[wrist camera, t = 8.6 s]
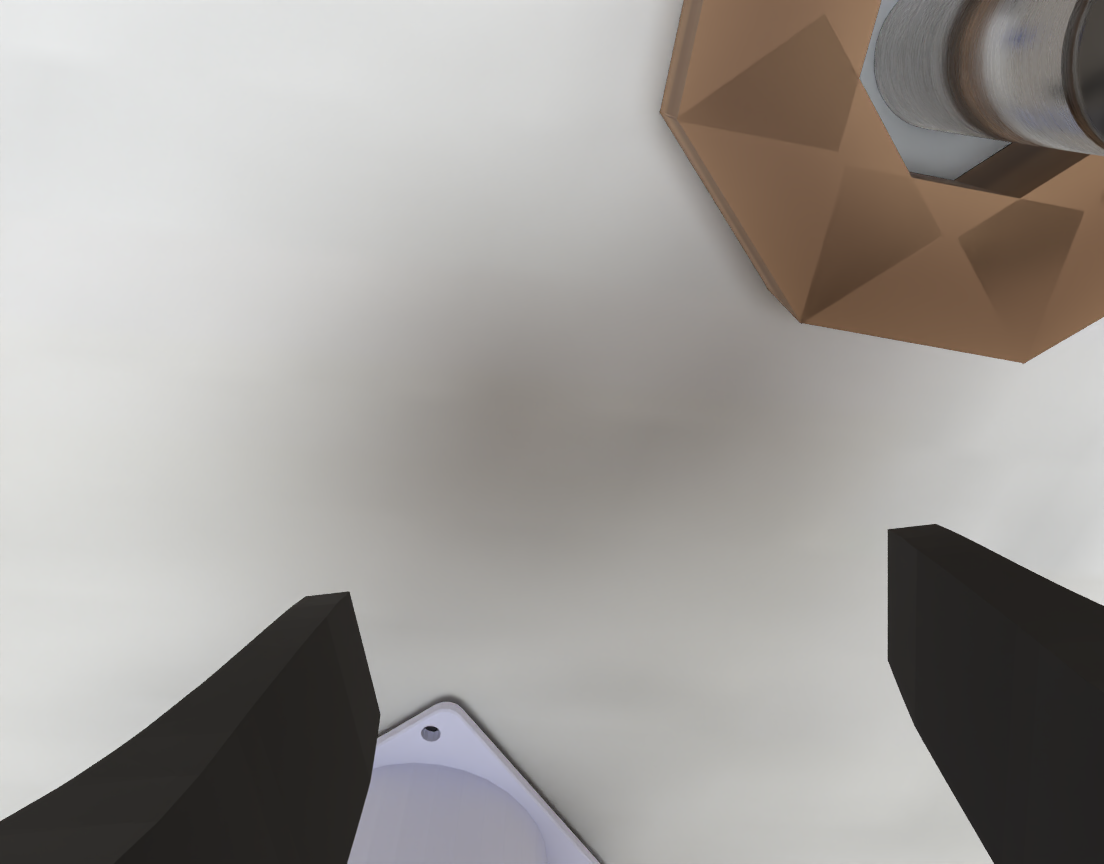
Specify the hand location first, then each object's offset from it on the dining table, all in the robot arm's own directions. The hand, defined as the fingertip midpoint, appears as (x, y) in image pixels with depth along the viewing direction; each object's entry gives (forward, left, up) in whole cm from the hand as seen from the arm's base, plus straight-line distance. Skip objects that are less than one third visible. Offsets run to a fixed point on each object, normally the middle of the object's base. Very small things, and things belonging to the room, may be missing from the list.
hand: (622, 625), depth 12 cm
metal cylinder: (+10, +2, -10) cm, 14 cm away
